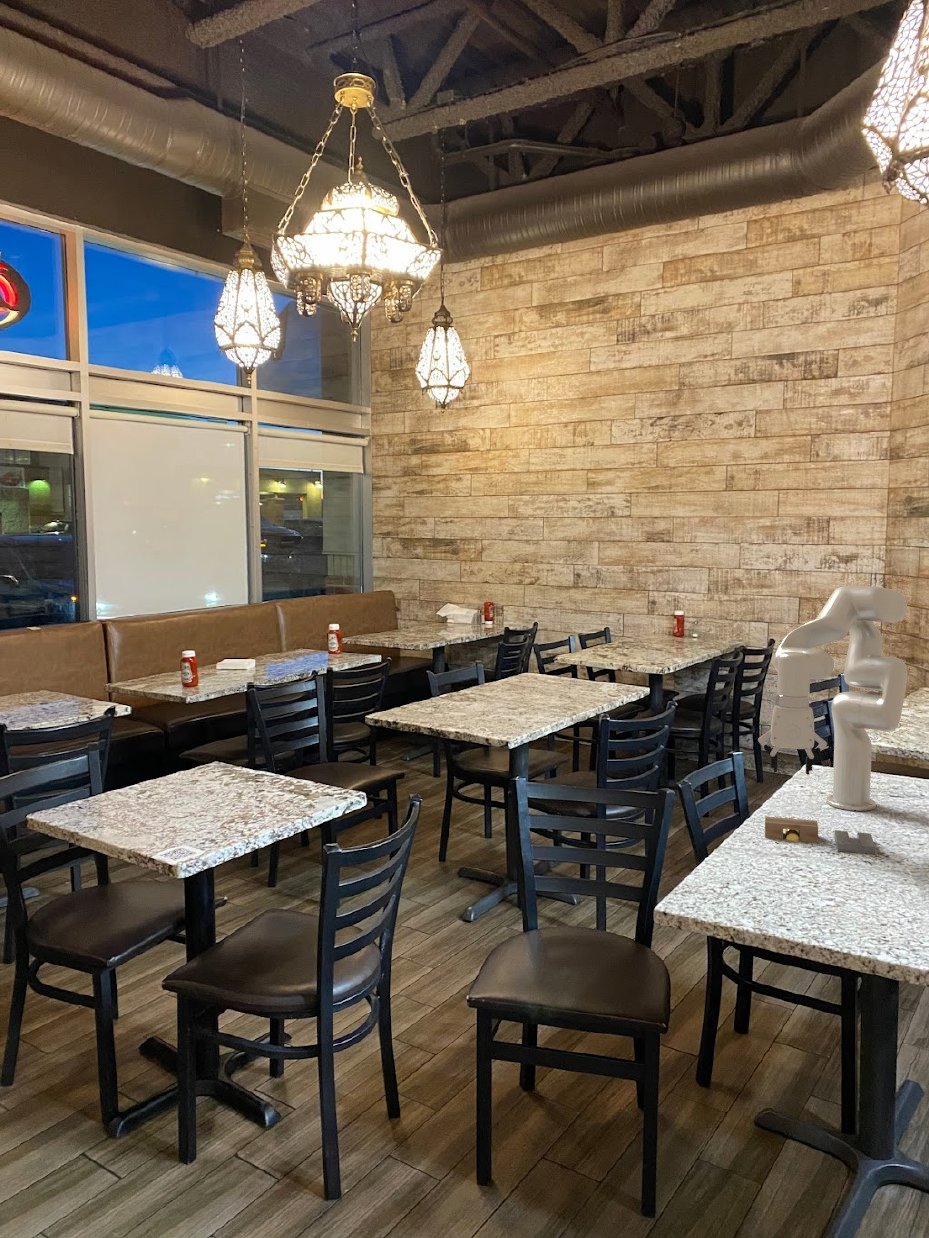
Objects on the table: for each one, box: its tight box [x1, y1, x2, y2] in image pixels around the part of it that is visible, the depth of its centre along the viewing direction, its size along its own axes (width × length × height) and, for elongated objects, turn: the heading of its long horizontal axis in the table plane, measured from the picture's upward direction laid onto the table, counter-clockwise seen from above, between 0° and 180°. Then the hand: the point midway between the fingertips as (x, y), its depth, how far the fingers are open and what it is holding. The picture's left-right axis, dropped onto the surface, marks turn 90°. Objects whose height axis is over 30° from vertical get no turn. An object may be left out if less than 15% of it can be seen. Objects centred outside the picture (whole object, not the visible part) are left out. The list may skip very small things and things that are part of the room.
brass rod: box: [784, 817, 800, 843], centre depth 218 cm, size 14×3×3 cm, turn 161°
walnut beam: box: [764, 815, 819, 843], centre depth 214 cm, size 5×12×5 cm, turn 72°
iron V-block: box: [833, 829, 877, 856], centre depth 207 cm, size 10×8×3 cm
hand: (791, 771), depth 219 cm, fingers open, 7 cm apart
